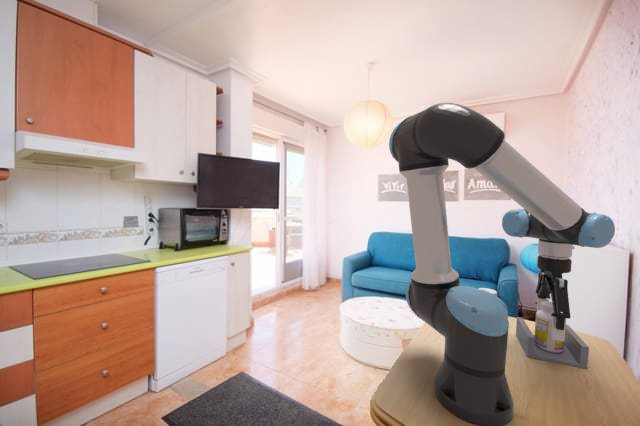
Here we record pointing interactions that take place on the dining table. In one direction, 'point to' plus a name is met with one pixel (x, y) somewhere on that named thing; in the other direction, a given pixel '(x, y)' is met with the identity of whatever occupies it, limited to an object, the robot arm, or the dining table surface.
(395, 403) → the dining table surface
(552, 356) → the u cradle
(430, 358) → the dining table surface
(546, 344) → the supplement bottle
